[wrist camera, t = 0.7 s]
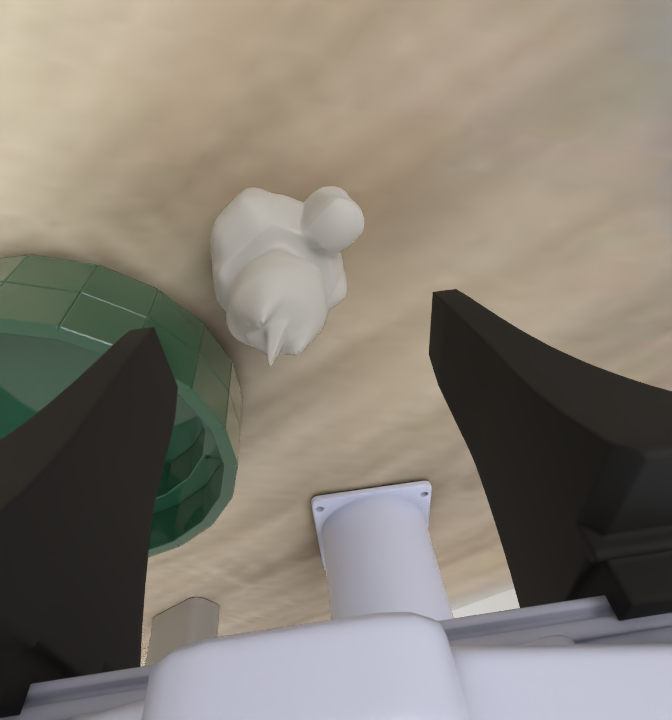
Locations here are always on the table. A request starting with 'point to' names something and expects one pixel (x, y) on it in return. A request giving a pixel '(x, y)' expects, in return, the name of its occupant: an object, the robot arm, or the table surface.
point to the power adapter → (182, 627)
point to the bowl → (90, 341)
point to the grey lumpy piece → (282, 265)
